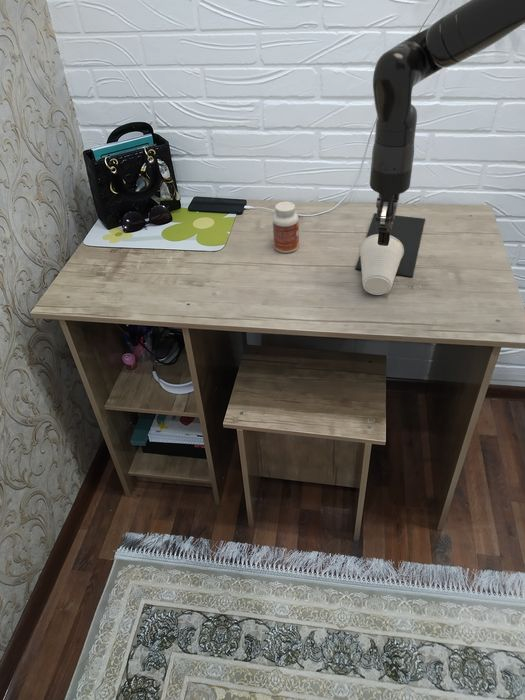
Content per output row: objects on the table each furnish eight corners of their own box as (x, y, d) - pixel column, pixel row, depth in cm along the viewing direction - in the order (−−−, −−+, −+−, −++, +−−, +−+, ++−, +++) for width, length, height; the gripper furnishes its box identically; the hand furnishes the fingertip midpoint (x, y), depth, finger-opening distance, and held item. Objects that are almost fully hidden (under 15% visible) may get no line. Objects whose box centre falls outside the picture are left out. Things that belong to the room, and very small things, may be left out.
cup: (406, 275, 117) (409, 238, 123) (359, 266, 118) (364, 229, 124) (393, 305, 125) (397, 269, 132) (349, 296, 126) (354, 260, 132)
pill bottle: (302, 251, 139) (302, 210, 131) (278, 255, 138) (276, 214, 130) (294, 238, 143) (293, 197, 136) (270, 242, 142) (268, 202, 135)
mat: (412, 277, 128) (412, 276, 128) (355, 269, 132) (355, 268, 132) (425, 219, 146) (425, 218, 146) (374, 214, 150) (374, 213, 150)
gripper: (408, 181, 100) (397, 263, 112) (416, 149, 109) (406, 229, 121) (365, 177, 102) (359, 258, 114) (377, 146, 111) (370, 225, 123)
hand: (383, 243), depth 117 cm, fingers closed
